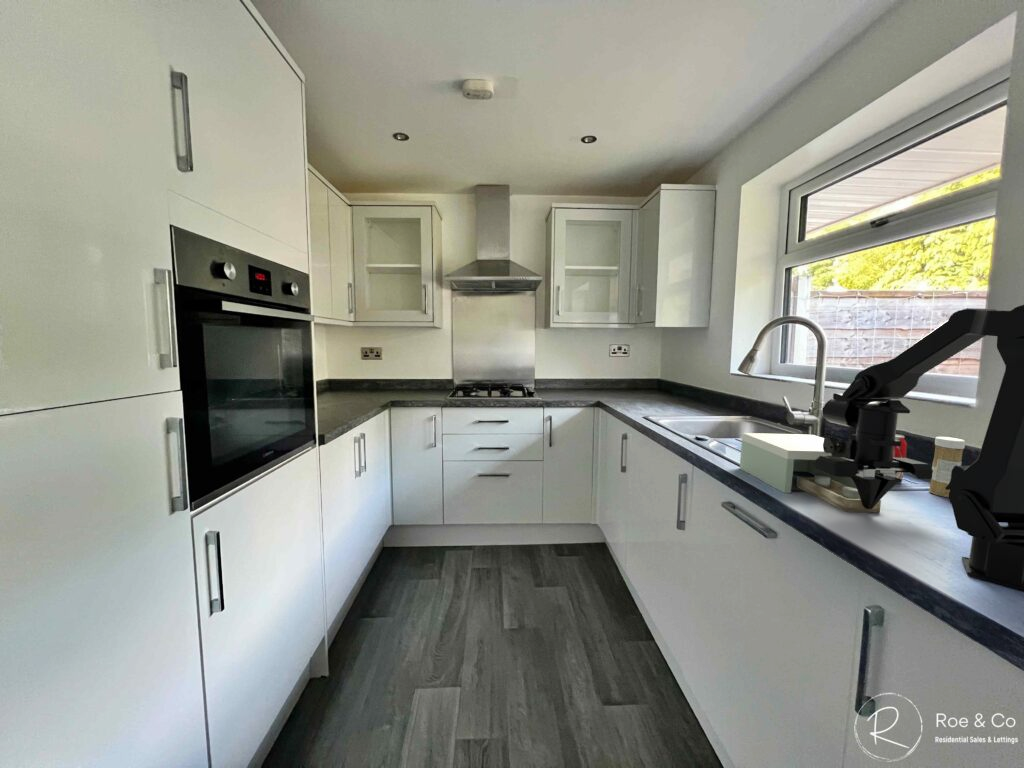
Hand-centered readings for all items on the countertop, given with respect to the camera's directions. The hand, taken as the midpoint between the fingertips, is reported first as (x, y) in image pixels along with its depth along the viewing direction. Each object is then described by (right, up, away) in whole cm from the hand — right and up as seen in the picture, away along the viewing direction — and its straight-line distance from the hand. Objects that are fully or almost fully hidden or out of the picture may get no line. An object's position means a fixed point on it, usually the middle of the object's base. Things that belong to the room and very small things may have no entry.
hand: (867, 508), depth 78 cm
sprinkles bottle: (+29, -1, +12) cm, 31 cm away
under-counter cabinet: (0, +1, +20) cm, 20 cm away
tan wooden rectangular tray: (0, 0, +8) cm, 8 cm away
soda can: (+24, 0, +22) cm, 32 cm away
